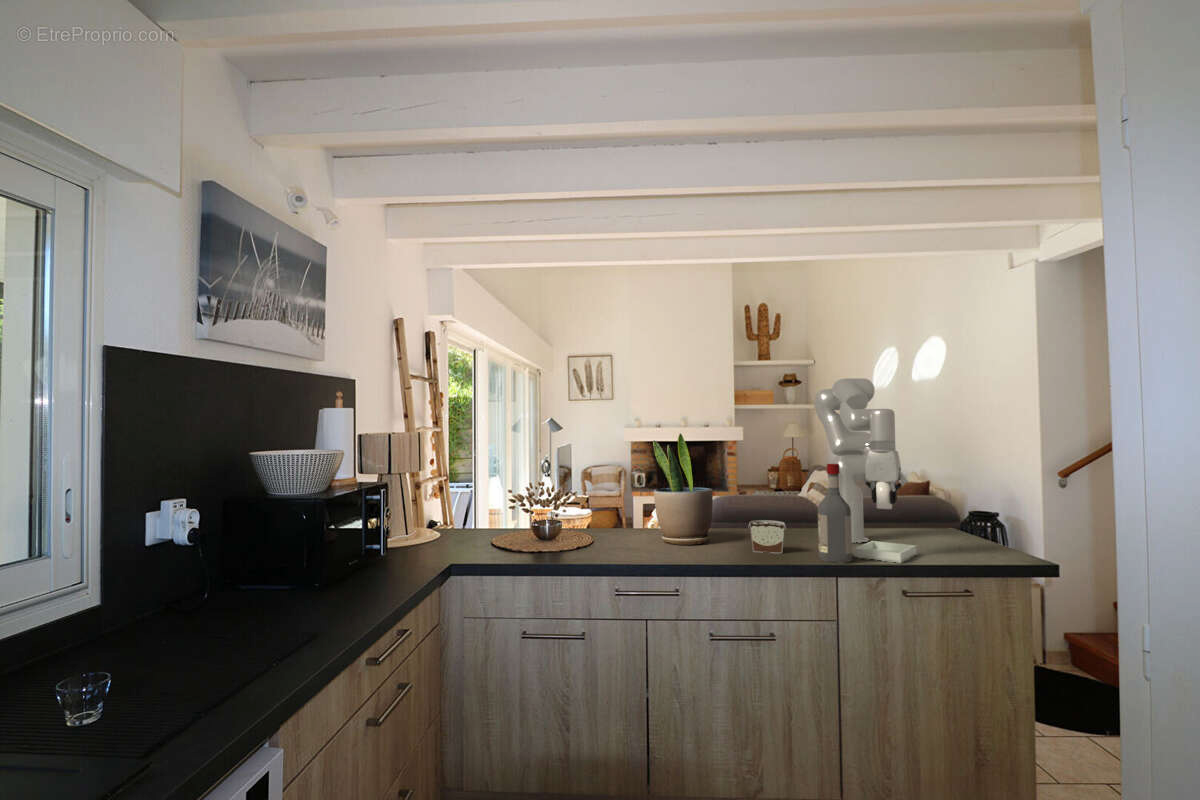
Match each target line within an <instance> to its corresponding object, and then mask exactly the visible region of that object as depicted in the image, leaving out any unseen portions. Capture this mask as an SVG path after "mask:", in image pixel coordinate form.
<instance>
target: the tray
mask: <svg viewBox="0 0 1200 800" xmlns="http://www.w3.org/2000/svg"><path fill="white" fill-rule="evenodd" d="M915 555H916V556H918V545H917V544H916V545H913V544H904V543H896V542H886V541H878V540H877V541H876V540H871V541H869V542H867V543H862V544H860V545H858V546H856V547H853V558H854V557H859V558H858V559H861V558H867V559H866V560H869V559H875V560H874V561H877V560H881V561H880V562H885V561H887V562H886V563H893V562H896V563H895V564H903V563H904V561H905V562H906V561H908V560H910V559H912V558H914V557H916V556H915ZM913 556H914V557H913ZM911 557H912V558H911ZM902 562H903V563H902Z"/></svg>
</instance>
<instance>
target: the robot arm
mask: <svg viewBox="0 0 1200 800" xmlns="http://www.w3.org/2000/svg"><path fill="white" fill-rule="evenodd" d="M874 396H875V386H874V384H873V382H872V381H871V380H870V379H868V378H851V377H849V378H848V377H847V378H840V379H838V380H836V381H835V382H834V383H833V385H832V388H826V389H822V390H819V391H817V393H816V394H815V397H814V409H815V412H816V414H817V417H818V419H819V421H820V422H821V424H822V426H823V428H824V431H825V434H826V438H827V441H828V445H829V449H830V451H831V453H832V454H833V455H835V458H833V460H832V463H831V464H839V474H838V476H839V492H840V496H841V497H842V498H843V499H844V501H845V502H846V503H847V504H848V505H849V507H850V509H851V537H852V544H862V543H861V542H867V543H868V541H869V540H870V539H869V538H868V537H866V536H865V533H864V532H865V531H864V529H865V527H864V495H863V491H862V489H861V487H860V486H859V485H858V484H857V482H859V481H861V482H862V483H864V484H865V485H866V486H867V488H869V489H870V491H871V500H872V503H875V504H876V481H878V482H889V483H890V486H891V491H890V503H891V504H892V505H894V504H896V502H897V501H898V497H897V495H898V494H897V493H898V492H897V491H899V490H900V488H902V486H905V484H907V483H908V482H909V480H908V479H907V477H906V476H905V475H904V474H903V473H902V466H901V460H900V456H899V452H898V450H896V447H897V446H896V422H895V421H896V420H895V419H896V418H895V417H896V415H895V411H894V410H893V409H891V408H867V407H868V404H869V402H871V400H872V399H873V398H874ZM837 411H839V413H838V412H837ZM854 542H855V543H854ZM856 542H858V543H856ZM869 542H870V541H869Z"/></svg>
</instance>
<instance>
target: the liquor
mask: <svg viewBox="0 0 1200 800" xmlns="http://www.w3.org/2000/svg"><path fill="white" fill-rule="evenodd" d="M826 474H827V494H826V495H825V497H823V499H822V500H821V501H820V502H819V503H818V506H817V531H818V534H817V535H818V536H817V537H818V538H817V539H818V541H817V542H818V556H819V558H820V560H821V562H823V561H824V563H828V562H842V563H841V564H847V563H846V562H850V563H851V562H852V560H853V551H852V550H853V545H852V544H853V543H852V537H851V509H850V507H849V505H848V504H847V503H846V502H845V501H844V499H843V498H842V497H841V496H840V492H839V476H838V474H839V464H832V463H826Z"/></svg>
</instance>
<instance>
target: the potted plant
mask: <svg viewBox="0 0 1200 800" xmlns="http://www.w3.org/2000/svg"><path fill="white" fill-rule="evenodd" d="M652 443H653V452H654V455H655V458H656V461H657V463H658V465H659V467H660V468H661V469H662V470H663V471H662V472H663V473H664V475H665V477H666V479H667V483H668V484H669V487H667V488H666V487H662V488H656V489H653V496H654V506H655V514H656V520H657V524H658V527H659V529H660V531H661V533H662V536H661V539H662V540H663V542H665V543H668V544H672V545H686V546H687V545H689V546H690V545H700V544H705V543H707V542H708V541H710V539H711V536H710V534H708V533H709V531H710V528H711V525H712V518H713V503H714V502H713V489H712V488H710V487H709V488H707V487H693V486H694V484H693V483H694V482H693V481H694V480H693V473H692V463H691V457H690V454H689V453H690V452H689V450H688V446H687V443H686V441H685V439H684V437H683V435H682V433H680V432H679V434H678V438H677V453H678V459H679V463H680V465H679V464H678V460H677V458H676V456H675V454H674V452H673V449H672V448H671V447H670V445H669V444H668V445H667V446H666V447H667V455H666V454H665V452H664V451H663V449H662V447H661V446H660V444H659V443H658V441H656V440H653V442H652ZM680 466H681V467H680ZM681 469H682V470H683V472H684V474H685V477H686V479H687V483H688V487H684V479H683V476H682V471H681Z"/></svg>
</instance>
